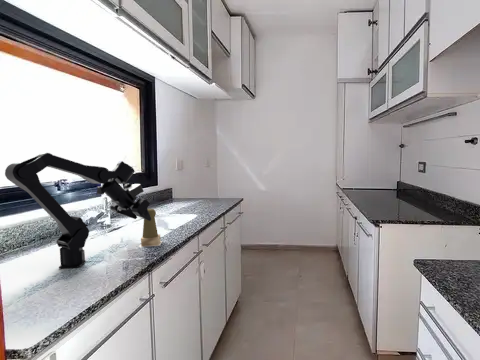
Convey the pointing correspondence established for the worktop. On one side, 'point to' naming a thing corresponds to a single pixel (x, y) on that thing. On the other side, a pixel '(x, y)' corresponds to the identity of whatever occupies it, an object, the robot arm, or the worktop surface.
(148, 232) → the cork
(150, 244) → the oak block
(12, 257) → the worktop surface
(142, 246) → the pale blue tile
